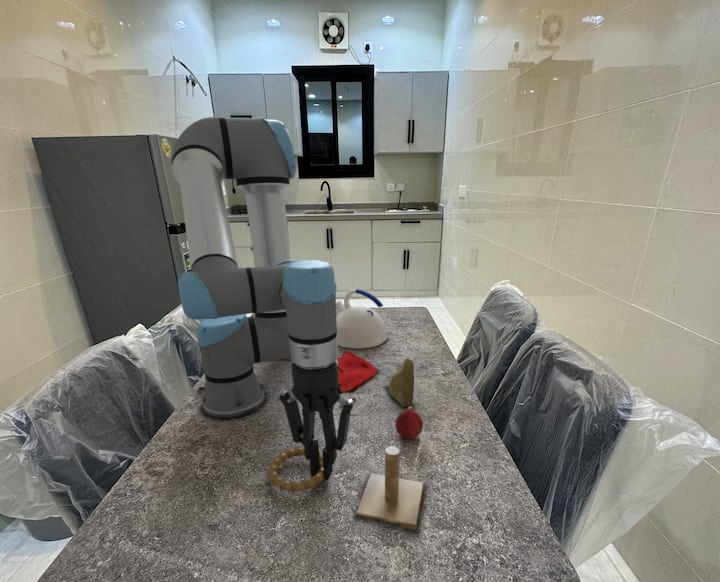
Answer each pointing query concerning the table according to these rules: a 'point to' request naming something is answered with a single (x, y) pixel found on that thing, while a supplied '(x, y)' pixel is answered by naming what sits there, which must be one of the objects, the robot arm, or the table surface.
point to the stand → (392, 494)
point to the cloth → (353, 371)
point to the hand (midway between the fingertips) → (321, 473)
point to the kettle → (359, 324)
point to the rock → (403, 384)
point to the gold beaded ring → (287, 484)
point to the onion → (409, 423)
